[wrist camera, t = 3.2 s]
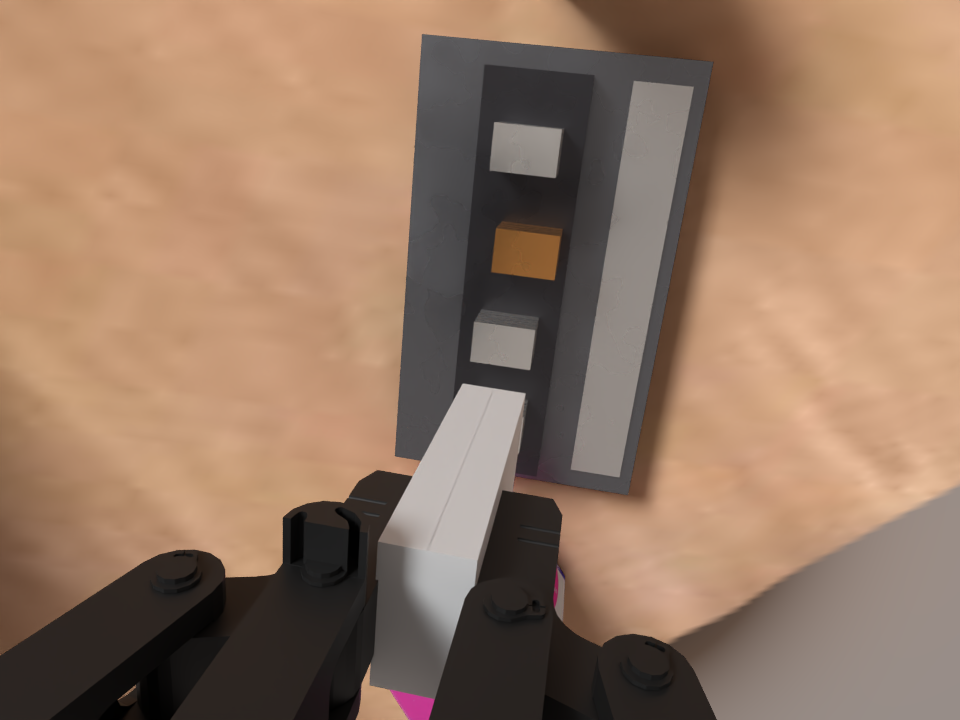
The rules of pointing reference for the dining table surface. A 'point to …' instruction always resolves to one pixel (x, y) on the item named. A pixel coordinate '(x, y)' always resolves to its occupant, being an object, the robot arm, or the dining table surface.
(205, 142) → the dining table surface
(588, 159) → the breaker panel
